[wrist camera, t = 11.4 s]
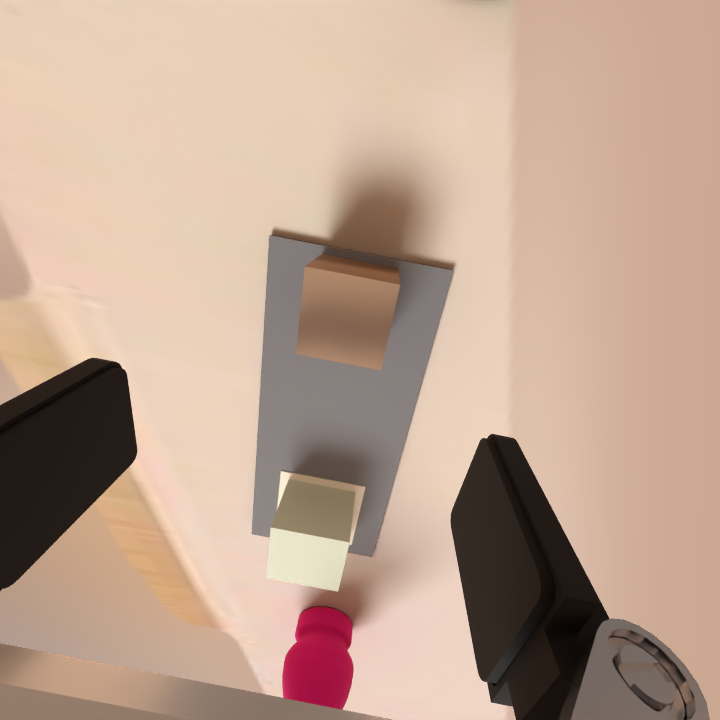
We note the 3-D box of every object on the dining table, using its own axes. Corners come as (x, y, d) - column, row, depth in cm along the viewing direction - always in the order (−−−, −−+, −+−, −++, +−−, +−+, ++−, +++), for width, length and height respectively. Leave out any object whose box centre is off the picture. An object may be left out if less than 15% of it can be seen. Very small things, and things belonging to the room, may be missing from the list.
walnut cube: (322, 253, 22) (304, 266, 18) (398, 268, 22) (400, 284, 18) (313, 326, 24) (295, 353, 20) (382, 339, 24) (381, 370, 20)
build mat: (271, 235, 22) (268, 235, 22) (452, 269, 22) (453, 271, 22) (253, 530, 34) (251, 534, 34) (372, 553, 34) (372, 557, 34)
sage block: (288, 478, 30) (270, 527, 26) (355, 491, 30) (349, 542, 26) (283, 526, 33) (266, 578, 28) (345, 538, 33) (338, 591, 28)
